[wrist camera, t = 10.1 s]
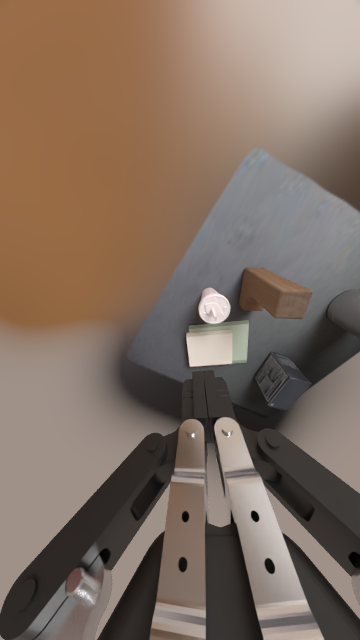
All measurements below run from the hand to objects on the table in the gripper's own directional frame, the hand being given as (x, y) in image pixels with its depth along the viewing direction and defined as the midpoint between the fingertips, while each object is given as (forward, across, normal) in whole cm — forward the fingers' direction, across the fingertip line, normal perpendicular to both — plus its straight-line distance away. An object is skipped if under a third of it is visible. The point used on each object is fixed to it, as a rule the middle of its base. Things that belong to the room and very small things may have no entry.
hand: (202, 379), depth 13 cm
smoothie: (+33, -4, +5) cm, 34 cm away
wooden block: (+33, -14, +4) cm, 36 cm away
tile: (+32, +3, +20) cm, 37 cm away
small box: (+33, -22, +30) cm, 50 cm away
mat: (+33, -6, +20) cm, 39 cm away
